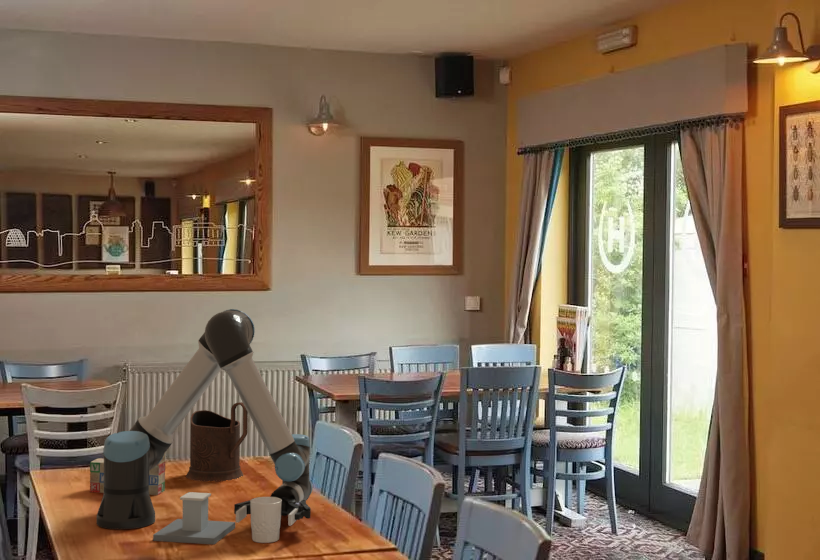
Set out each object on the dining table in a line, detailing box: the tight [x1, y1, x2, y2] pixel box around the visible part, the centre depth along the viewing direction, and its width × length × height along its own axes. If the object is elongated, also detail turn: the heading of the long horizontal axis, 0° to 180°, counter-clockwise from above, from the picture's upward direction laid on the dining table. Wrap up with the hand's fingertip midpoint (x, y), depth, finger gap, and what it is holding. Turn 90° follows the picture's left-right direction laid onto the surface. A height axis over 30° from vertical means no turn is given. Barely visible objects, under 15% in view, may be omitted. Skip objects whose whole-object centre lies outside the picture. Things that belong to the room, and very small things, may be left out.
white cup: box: [249, 496, 282, 544], centre depth 260 cm, size 8×8×10 cm
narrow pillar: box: [152, 491, 236, 545], centre depth 264 cm, size 16×16×10 cm
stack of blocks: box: [89, 451, 167, 496], centre depth 310 cm, size 21×6×12 cm, turn 84°
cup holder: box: [185, 401, 249, 482], centre depth 333 cm, size 18×24×25 cm
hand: (263, 518), depth 258 cm, fingers open, 13 cm apart
